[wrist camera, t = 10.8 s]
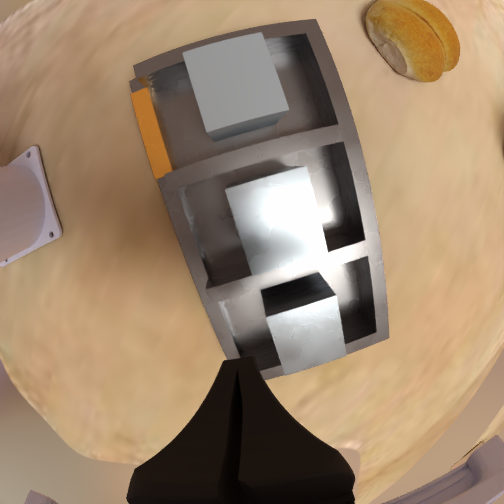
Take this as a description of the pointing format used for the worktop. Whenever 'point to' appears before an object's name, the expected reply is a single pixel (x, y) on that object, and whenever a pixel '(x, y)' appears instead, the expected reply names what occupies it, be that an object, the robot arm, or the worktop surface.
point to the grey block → (236, 86)
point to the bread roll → (413, 38)
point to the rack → (271, 208)
